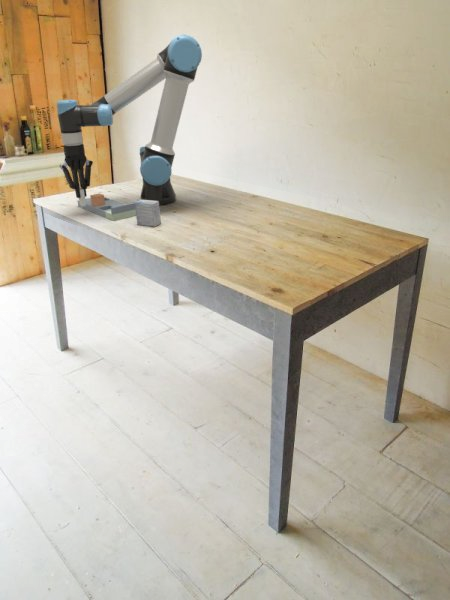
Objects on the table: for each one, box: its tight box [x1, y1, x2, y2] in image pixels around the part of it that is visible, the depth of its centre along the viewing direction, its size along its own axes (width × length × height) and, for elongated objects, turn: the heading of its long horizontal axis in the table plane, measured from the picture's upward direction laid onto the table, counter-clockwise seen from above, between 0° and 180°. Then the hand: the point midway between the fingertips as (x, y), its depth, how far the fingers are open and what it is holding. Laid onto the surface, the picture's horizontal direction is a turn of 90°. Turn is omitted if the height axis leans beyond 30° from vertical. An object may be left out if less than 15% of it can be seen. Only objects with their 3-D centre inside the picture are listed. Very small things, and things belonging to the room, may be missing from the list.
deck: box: [77, 196, 136, 222], centre depth 204 cm, size 30×11×5 cm, turn 41°
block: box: [89, 192, 105, 207], centre depth 203 cm, size 4×4×4 cm
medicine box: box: [135, 199, 162, 227], centre depth 184 cm, size 8×4×9 cm, turn 65°
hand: (82, 205), depth 199 cm, fingers closed
